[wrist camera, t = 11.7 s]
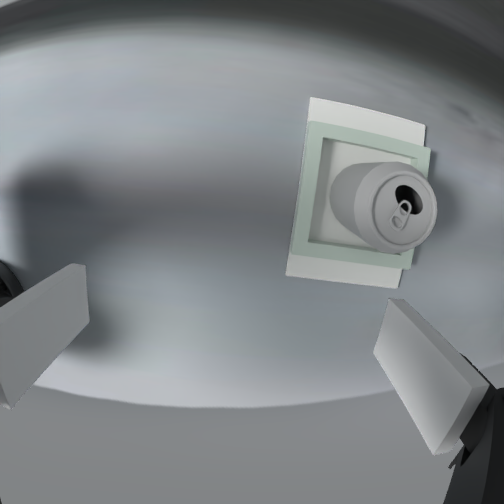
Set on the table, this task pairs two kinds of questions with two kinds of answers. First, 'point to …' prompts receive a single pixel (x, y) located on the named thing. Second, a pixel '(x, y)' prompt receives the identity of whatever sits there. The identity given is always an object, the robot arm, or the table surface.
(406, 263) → the green and white tray
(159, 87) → the table surface
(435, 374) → the robot arm
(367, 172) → the can
